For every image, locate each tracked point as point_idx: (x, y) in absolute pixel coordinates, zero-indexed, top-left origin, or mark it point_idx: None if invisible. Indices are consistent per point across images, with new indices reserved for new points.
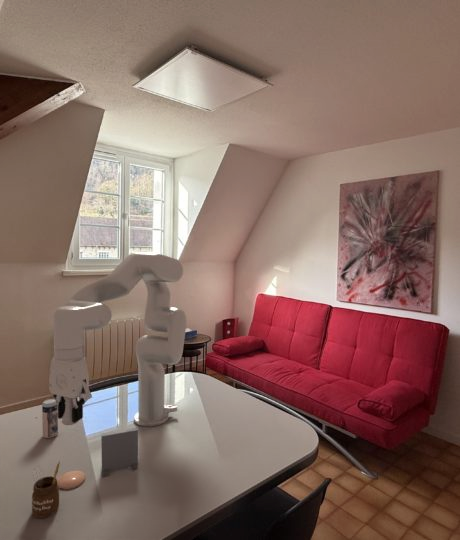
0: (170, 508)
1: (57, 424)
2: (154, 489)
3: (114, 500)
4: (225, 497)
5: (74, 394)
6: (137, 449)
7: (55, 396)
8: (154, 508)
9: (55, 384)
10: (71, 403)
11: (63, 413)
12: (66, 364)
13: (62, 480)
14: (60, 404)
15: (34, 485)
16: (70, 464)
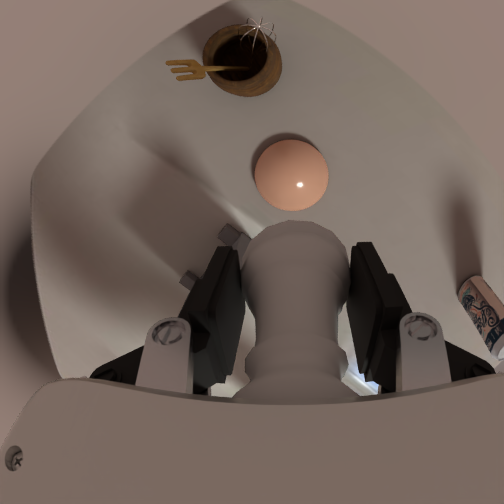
0: (61, 217)
1: (468, 313)
2: (109, 242)
3: (140, 176)
4: (40, 273)
5: (30, 413)
6: (179, 313)
7: (467, 364)
8: (74, 203)
9: None
10: (253, 357)
11: (354, 283)
12: None
13: (306, 159)
14: (383, 319)
15: (256, 30)
16: (351, 225)
